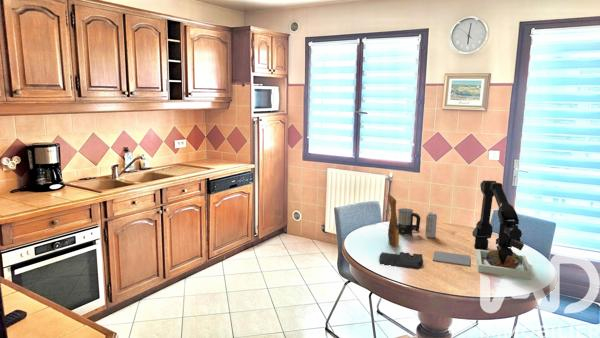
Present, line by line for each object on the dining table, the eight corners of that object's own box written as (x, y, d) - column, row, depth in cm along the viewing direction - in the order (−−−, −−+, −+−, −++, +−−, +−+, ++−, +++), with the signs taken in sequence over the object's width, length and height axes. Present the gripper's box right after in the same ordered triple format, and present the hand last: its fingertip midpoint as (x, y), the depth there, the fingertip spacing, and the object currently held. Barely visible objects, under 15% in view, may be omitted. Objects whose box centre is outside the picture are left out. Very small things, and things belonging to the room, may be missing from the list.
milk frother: (397, 234, 254) (398, 211, 251) (395, 226, 269) (397, 205, 267) (420, 236, 251) (422, 212, 249) (418, 228, 267) (419, 206, 264)
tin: (485, 265, 207) (487, 249, 206) (485, 263, 210) (486, 247, 209) (519, 270, 202) (520, 254, 200) (518, 268, 204) (520, 252, 203)
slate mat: (432, 260, 212) (432, 259, 212) (434, 251, 225) (434, 250, 225) (470, 266, 206) (470, 265, 206) (469, 256, 218) (469, 255, 218)
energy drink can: (437, 237, 248) (439, 214, 246) (428, 238, 247) (430, 214, 244) (431, 234, 254) (433, 211, 252) (423, 235, 252) (424, 212, 250)
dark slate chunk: (380, 254, 221) (380, 246, 220) (422, 259, 215) (423, 250, 214) (378, 265, 206) (378, 256, 205) (423, 270, 201) (423, 261, 200)
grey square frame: (477, 271, 199) (478, 264, 199) (476, 255, 220) (477, 249, 220) (531, 279, 191) (532, 272, 190) (524, 262, 212) (525, 255, 212)
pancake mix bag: (387, 247, 230) (390, 199, 226) (385, 236, 249) (387, 192, 244) (399, 248, 229) (402, 200, 225) (396, 237, 248) (398, 192, 243)
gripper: (526, 241, 191) (522, 272, 194) (521, 229, 208) (518, 258, 211) (500, 237, 195) (497, 268, 198) (497, 227, 213) (494, 255, 215)
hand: (502, 262), depth 205 cm, fingers closed on tin, 2 cm apart
